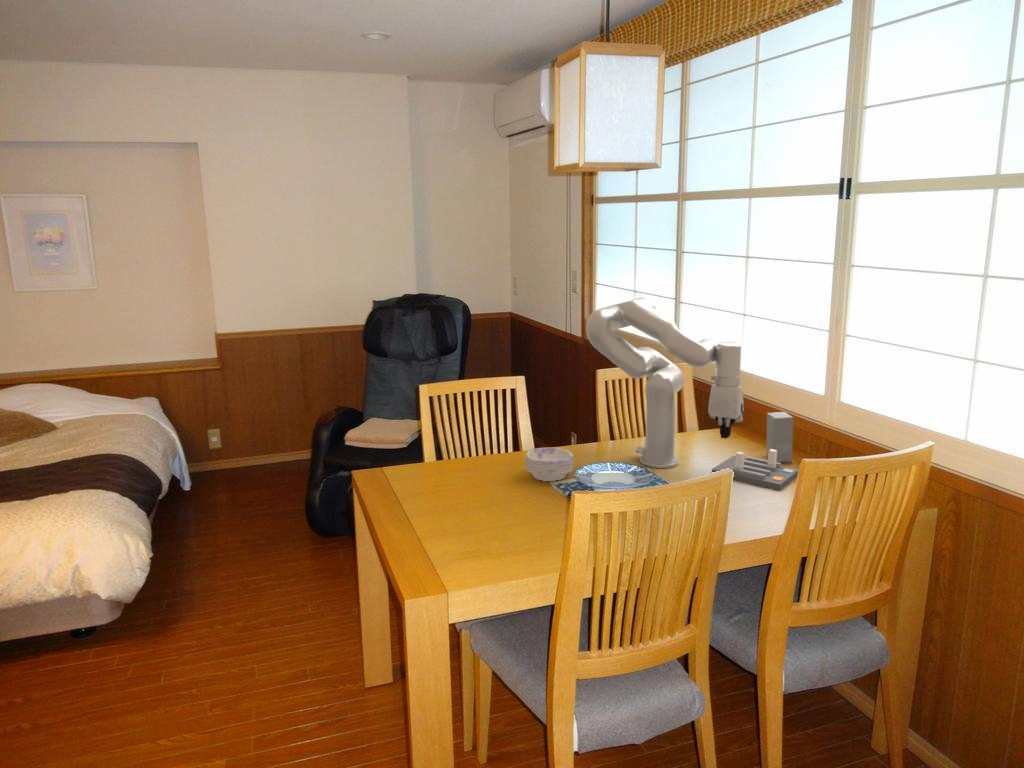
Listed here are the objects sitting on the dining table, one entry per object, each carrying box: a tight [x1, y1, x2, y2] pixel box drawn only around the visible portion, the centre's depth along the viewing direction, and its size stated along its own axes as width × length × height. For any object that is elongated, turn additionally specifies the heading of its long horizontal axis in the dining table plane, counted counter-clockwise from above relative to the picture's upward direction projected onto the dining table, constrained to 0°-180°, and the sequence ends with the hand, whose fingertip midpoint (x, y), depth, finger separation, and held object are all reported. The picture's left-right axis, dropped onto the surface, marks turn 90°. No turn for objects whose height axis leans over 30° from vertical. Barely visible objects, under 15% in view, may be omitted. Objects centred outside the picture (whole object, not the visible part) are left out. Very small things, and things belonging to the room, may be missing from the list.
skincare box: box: [765, 411, 794, 463], centre depth 250 cm, size 8×7×16 cm
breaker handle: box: [767, 449, 777, 466], centre depth 237 cm, size 2×2×6 cm
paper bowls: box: [524, 446, 574, 482], centre depth 236 cm, size 15×15×8 cm
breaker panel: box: [711, 455, 800, 492], centre depth 236 cm, size 22×17×3 cm
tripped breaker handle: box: [735, 451, 746, 469], centre depth 234 cm, size 2×2×6 cm
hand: (725, 437), depth 236 cm, fingers closed
